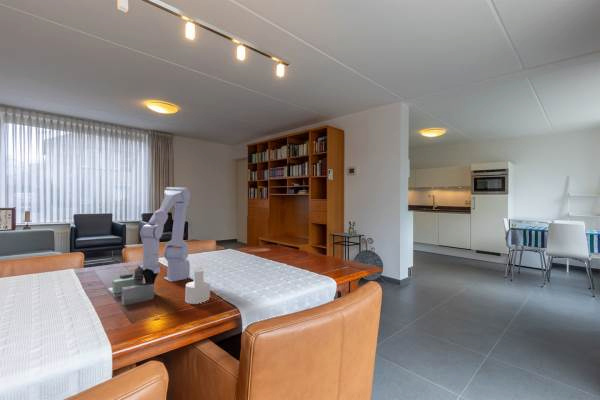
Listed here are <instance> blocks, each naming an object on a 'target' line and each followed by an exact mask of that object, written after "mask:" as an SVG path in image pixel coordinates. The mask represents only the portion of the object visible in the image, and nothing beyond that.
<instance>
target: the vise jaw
mask: <svg viewBox="0 0 600 400" xmlns="http://www.w3.org/2000/svg"><path fill="white" fill-rule="evenodd" d="M133 277H134V274H133V273H132V272H126V273H122V274H121V273H120V274H119V279H113V280H112V288H113V291H112V292H113V293H120V292H122V287H128V286H133V285H134V278H133Z"/></svg>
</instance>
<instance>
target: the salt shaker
mask: <svg viewBox="0 0 600 400" xmlns="http://www.w3.org/2000/svg"><path fill="white" fill-rule="evenodd" d="M140 266H141V265H138V266H137V267H136V268H135V269H134V275H133V278H134V285H138V284H144V276H143V270H144V268H140Z"/></svg>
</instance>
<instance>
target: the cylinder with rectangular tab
mask: <svg viewBox="0 0 600 400" xmlns="http://www.w3.org/2000/svg"><path fill="white" fill-rule="evenodd" d="M184 292H185V293H184V294H185V295H184V299H185V300H184V301H185V302H186V304H190V305H191V304H192V305H198V304H199V303H200V304H203V303H202V302H204V303H206V302H205V301H207V300H209V298H210V299H211V282H210V281H208V280H204V268H203V265H194V266H193V281H191V282H190V281H189V282H187V283H185V291H184ZM209 301H210V300H209ZM207 302H208V301H207Z"/></svg>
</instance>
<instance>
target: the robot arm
mask: <svg viewBox="0 0 600 400" xmlns="http://www.w3.org/2000/svg"><path fill="white" fill-rule="evenodd" d="M163 196H164V197H163V198H164V199H163V200H162V203H161V204H160V208H159V209H158V210H155V211H154V213H153V214H152V215H151V216H150V219H149V221H148V222H147V224H144V225H143V226H142V227H141V228H140V231H139V235H140V238H141V243H142V262H141V265H139V266H140V268H142V269H143V276H144V277H143V280H144V283H149V282H152V283H153V284H154V285H155V281H156V279H157V276H158V275H159V274H160V273H161V267H160V263H159V260H160V259H159V257H160V254H159V253H160V239H161V238H162V236H163V232H164V225H165V224H166V222H167V220H168V219H169V215H168V213H169V211H170V210H171V209H172V208H173V207H174V214H173V222H172V223H173V224H172V232H171V239H170V240H169V241H168V242H166V244H165V248H164V251H163V257H164V259H165V261H166V262H167V273H166V274H167V276H164V277H163V279H164V280H167V281H168V282H171V283H173V282H176V281H177V282H178V281H181V280H187V278H188V279H191V276H190V274H191V273H190V270H191V264H190V260H189V259H188V257H189V254H190V253H189V244H188V243H187V242H186V241H185V240H184V233H185V223H186V213H187V206H189V205H190V197H191V192H190V189H189V188H188V187H185V186H184V187H179V186H178V187H176V186H175V187H174V186H173V187H172V186H167V187H166V188H165V190H164V192H163Z"/></svg>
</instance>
